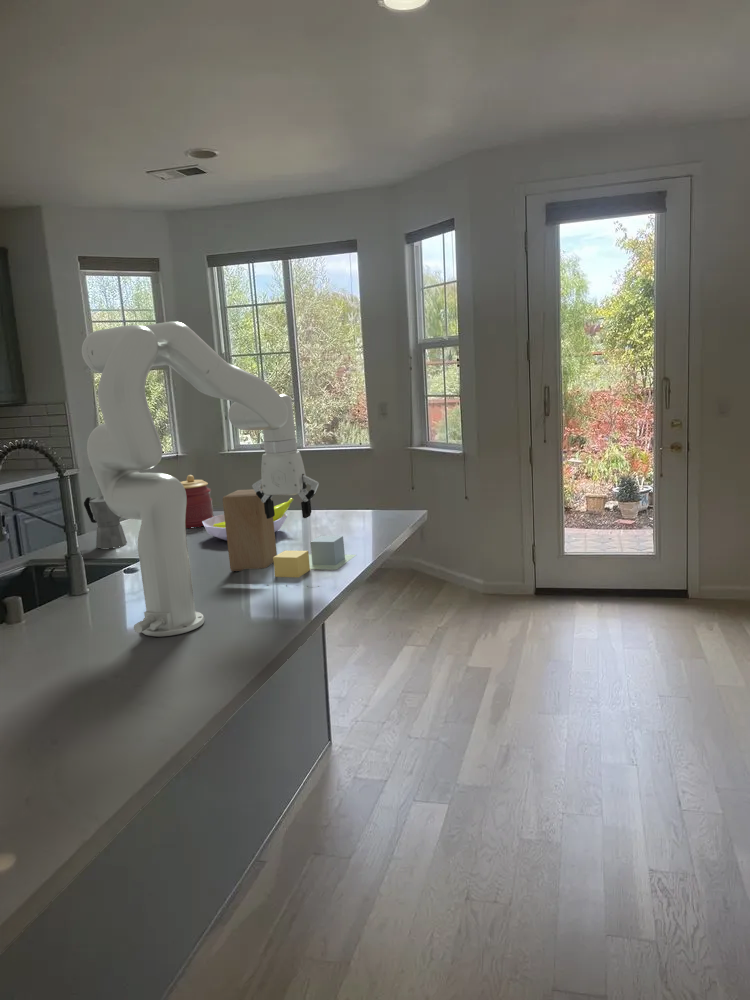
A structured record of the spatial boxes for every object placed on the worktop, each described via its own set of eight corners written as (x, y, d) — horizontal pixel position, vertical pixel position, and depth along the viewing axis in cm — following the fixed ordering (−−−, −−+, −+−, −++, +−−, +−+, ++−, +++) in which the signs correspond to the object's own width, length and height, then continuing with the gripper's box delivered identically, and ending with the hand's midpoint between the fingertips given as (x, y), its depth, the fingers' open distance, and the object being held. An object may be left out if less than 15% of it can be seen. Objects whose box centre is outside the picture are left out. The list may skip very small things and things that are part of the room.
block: (266, 572, 187) (258, 494, 184) (229, 572, 189) (220, 496, 186) (278, 561, 197) (271, 488, 193) (243, 562, 199) (235, 489, 195)
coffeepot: (138, 542, 234) (131, 487, 231) (117, 550, 225) (109, 492, 222) (101, 541, 240) (93, 487, 237) (79, 548, 232) (71, 492, 228)
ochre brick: (299, 581, 176) (297, 557, 175) (275, 581, 179) (273, 557, 178) (310, 574, 182) (308, 550, 181) (287, 573, 184) (284, 550, 183)
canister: (222, 522, 258) (217, 472, 255) (195, 530, 247) (189, 478, 244) (196, 520, 265) (190, 471, 262) (168, 528, 254) (162, 477, 251)
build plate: (336, 573, 181) (336, 569, 181) (285, 572, 185) (285, 568, 185) (356, 558, 194) (356, 554, 194) (308, 557, 198) (308, 554, 198)
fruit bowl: (187, 546, 223) (183, 510, 221) (231, 526, 248) (228, 493, 246) (270, 547, 214) (267, 509, 212) (308, 526, 239) (304, 492, 237)
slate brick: (335, 565, 185) (333, 541, 184) (312, 564, 187) (310, 541, 186) (344, 558, 191) (343, 535, 190) (322, 558, 193) (320, 535, 192)
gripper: (241, 450, 174) (249, 521, 178) (307, 447, 169) (315, 520, 172) (256, 446, 181) (264, 514, 185) (320, 443, 175) (327, 513, 179)
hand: (288, 517), depth 178 cm, fingers open, 9 cm apart
